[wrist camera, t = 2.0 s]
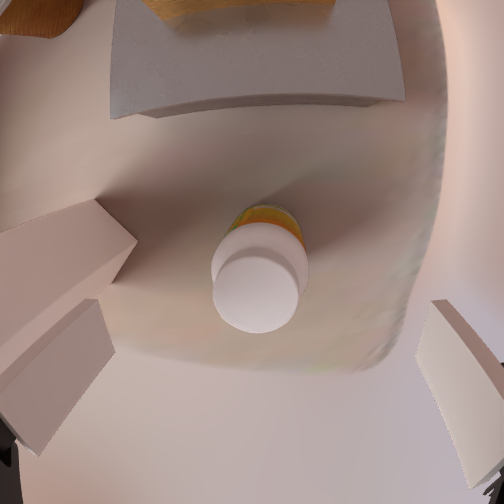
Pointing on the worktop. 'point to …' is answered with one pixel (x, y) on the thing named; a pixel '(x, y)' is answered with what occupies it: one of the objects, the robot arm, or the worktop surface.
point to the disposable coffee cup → (38, 16)
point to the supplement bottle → (260, 269)
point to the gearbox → (251, 55)
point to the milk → (55, 270)
